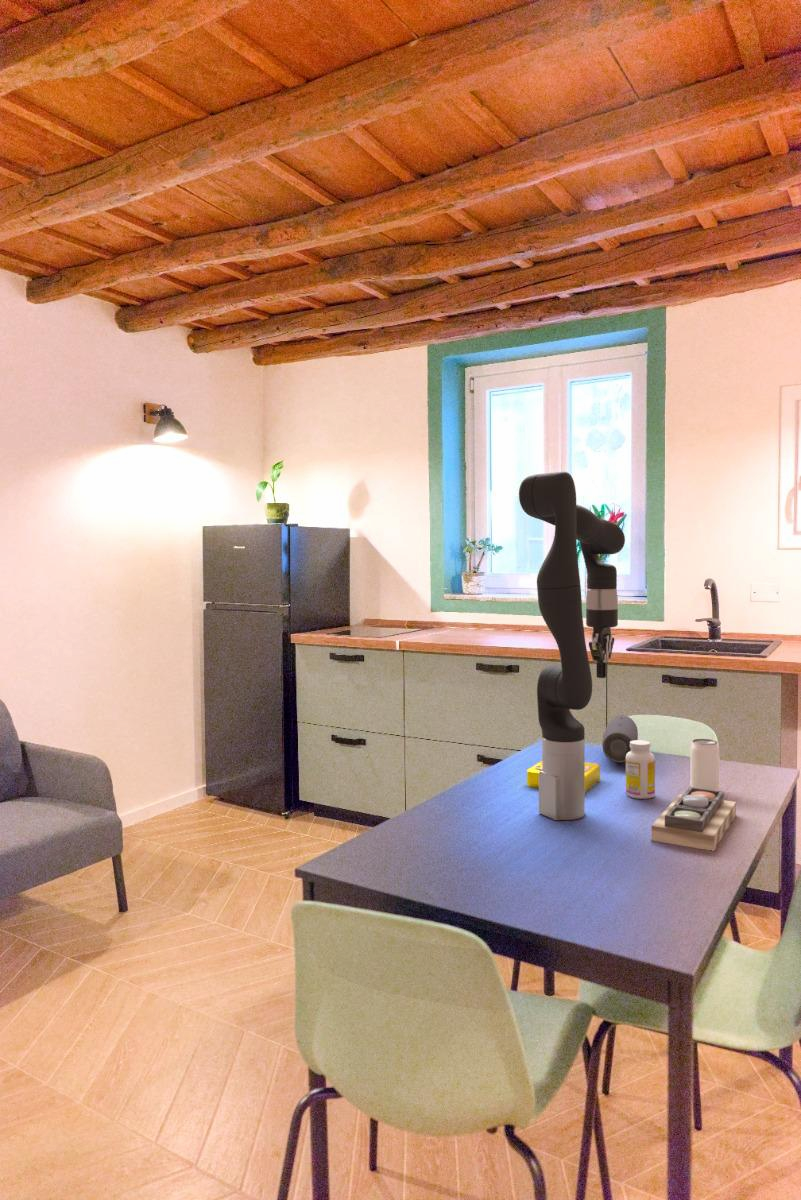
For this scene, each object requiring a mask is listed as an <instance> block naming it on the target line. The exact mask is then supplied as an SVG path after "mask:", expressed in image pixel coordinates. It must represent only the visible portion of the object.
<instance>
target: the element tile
mask: <svg viewBox="0 0 801 1200" xmlns="http://www.w3.org/2000/svg"><path fill="white" fill-rule="evenodd" d="M539 771H542V760H540V761H539V762H537V763H536V764H534V765H532V766H531V767H529V768H527V769H526V786H527V787H531V788H536V789H539ZM599 780H600V781H601V766H600V764H599V763H594V762H589V761H588V762H587V761H585V793H587V792H588V791H589V790H591V789H592V788H593V787H594V786H595V785H596V783H597V782H598V781H599ZM600 781H599V782H600ZM599 782H598V783H599ZM598 783H597V784H598ZM593 785H594V786H593ZM592 786H593V787H592ZM588 789H589V790H588ZM587 790H588V791H587Z"/></svg>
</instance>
